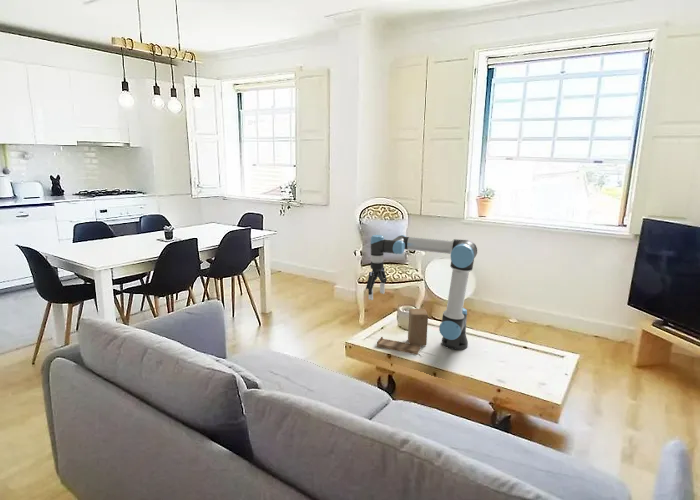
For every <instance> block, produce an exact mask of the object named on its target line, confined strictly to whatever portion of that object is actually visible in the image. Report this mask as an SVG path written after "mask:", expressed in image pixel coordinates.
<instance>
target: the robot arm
mask: <svg viewBox="0 0 700 500" xmlns="http://www.w3.org/2000/svg"><path fill="white" fill-rule="evenodd" d="M369 245H370V269H372V270H371V271H369V272H368V279H367V282H366V286H365V288H366V290H368V300H369V301H373V300H374V289H373V287H374V285H375V284H376V280H377V279H379V281H380V283H379V293H380V294H383V295H385V292H386V290H385V288H386V287H385V286H386V285H385V284H387V281H388V280H387V275H386V272H385V267H384V256H385V255H384V254H385V253H386V254H395V255H402V254H403V253H404V252H405V250H407V251H416V252H417V251H419V252H429V253H436V254H447V255H450V268H451V270H452V272H451V278H450V285H449V291H448V297H447V302H446V303H447V305H446V310H444V311H443V312H442V318H441V322H440V324H439V329H438V330H439V331H438V332H439V333H440V335H441V336H442V338H441V345H442V346H443V347H445V348H446V349H450V350H454V351H461V350H465V349H467V348H468V347H469V346H468V345H469V343H468V342H469V341H468V337H467V333H466V331H467V330H466V329H467V321H468V320H467V316H468V309H466V308H465V307H464V303H465V298H466V293H467V292H466V291H467V285H468V279H469V274H470V272H471V271H473V269H474V267H473V266H474V262H475V258H476V256H477V254H478V247H477V245H476V243H474V242H473V241H472V240H469V239H456V238H455V239H453V240H448V239H447V240H445V239H437V238H436V239H434V238H423V237H415V236H414V237H413V236H406V235H404V234H403V235H397V236H396V237H395V238H393V239H385V237H384V235H381V234H373V235H371V237H370V244H369Z"/></svg>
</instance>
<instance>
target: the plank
mask: <svg viewBox="0 0 700 500" xmlns="http://www.w3.org/2000/svg"><path fill="white" fill-rule="evenodd" d="M376 347H377V348H381V349H387V350H392V351H397V352H400V353H401V352H402V353H407V354H411V355H412V354H413V355H418V354H419V352H420V350H421V347H422V346H420V345H415V344H409V342H404V341H399V340H392V339H387V338H384V336H380V338H379V339H378V340H377V341H376Z"/></svg>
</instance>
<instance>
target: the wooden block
mask: <svg viewBox="0 0 700 500" xmlns="http://www.w3.org/2000/svg"><path fill="white" fill-rule="evenodd" d="M428 319H429V315H428V312H427V310H426V309H425V308H409V310H408V329H407V330H408V331H407V339H408V343H409V344H415V345H420V346H421V347H426V346H427V344H428V343H427V341H428V340H427V339H428V323H429V322H428V321H429V320H428Z"/></svg>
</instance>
